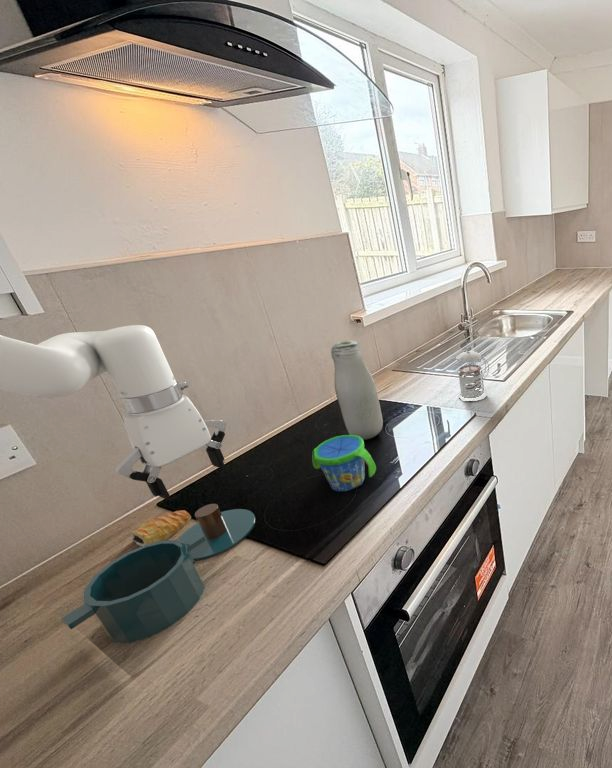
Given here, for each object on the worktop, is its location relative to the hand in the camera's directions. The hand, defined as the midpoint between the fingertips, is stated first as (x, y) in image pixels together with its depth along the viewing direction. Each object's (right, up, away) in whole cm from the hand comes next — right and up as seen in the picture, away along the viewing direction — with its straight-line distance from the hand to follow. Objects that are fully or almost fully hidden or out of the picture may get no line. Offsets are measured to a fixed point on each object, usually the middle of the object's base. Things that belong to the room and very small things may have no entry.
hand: (192, 480), depth 77 cm
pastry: (-12, -13, +7) cm, 19 cm away
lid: (+1, -12, +6) cm, 13 cm away
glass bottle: (+19, +3, +39) cm, 43 cm away
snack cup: (+22, -5, +19) cm, 29 cm away
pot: (+2, -19, -9) cm, 21 cm away
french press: (+48, +14, +60) cm, 78 cm away
